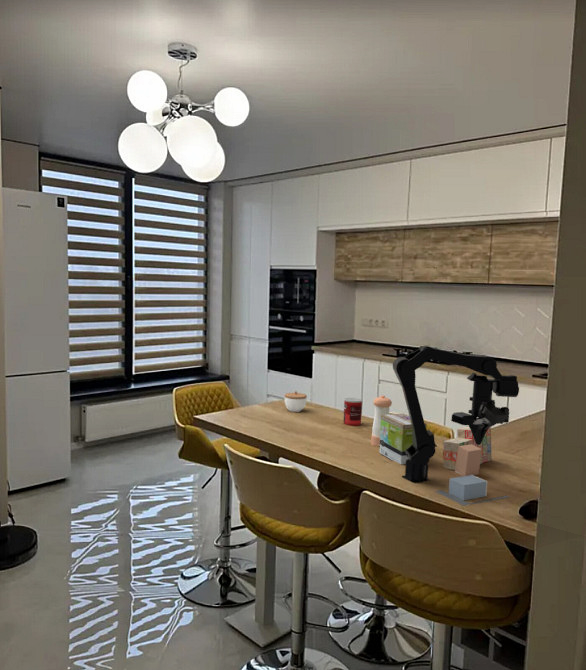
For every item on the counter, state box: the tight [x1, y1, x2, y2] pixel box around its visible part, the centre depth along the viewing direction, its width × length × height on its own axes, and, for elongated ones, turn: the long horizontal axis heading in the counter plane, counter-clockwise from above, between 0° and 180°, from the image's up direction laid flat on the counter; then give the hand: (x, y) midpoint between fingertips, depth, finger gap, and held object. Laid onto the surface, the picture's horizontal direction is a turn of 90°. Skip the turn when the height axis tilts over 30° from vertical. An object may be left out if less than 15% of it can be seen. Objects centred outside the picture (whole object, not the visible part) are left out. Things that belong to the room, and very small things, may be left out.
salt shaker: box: [370, 395, 393, 447], centre depth 217 cm, size 7×7×19 cm
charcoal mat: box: [434, 489, 510, 507], centre depth 166 cm, size 18×12×1 cm, turn 117°
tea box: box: [379, 413, 428, 465], centre depth 200 cm, size 15×10×15 cm
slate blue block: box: [448, 475, 488, 501], centre depth 165 cm, size 4×6×9 cm
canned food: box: [343, 397, 363, 427], centre depth 250 cm, size 8×8×11 cm
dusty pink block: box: [454, 444, 482, 476], centre depth 185 cm, size 4×6×9 cm
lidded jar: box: [284, 390, 307, 413], centre depth 272 cm, size 11×11×9 cm
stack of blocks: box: [442, 425, 493, 471], centre depth 196 cm, size 21×6×12 cm, turn 132°
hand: (478, 444), depth 177 cm, fingers closed
